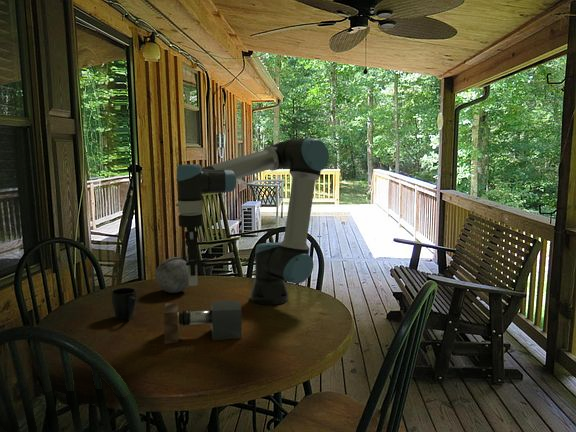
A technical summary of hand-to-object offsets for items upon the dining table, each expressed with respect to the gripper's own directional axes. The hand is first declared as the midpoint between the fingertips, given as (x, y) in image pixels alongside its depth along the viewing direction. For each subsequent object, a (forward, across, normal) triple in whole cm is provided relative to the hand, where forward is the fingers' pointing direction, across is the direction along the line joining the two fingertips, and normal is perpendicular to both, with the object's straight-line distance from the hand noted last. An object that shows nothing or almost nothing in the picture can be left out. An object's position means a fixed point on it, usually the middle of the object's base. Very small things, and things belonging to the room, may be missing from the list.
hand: (192, 279), depth 143 cm
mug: (+18, -17, -23) cm, 34 cm away
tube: (+14, +3, 0) cm, 15 cm away
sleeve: (+18, +4, +10) cm, 21 cm away
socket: (+18, +3, -7) cm, 19 cm away
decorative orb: (+18, -45, -7) cm, 49 cm away
